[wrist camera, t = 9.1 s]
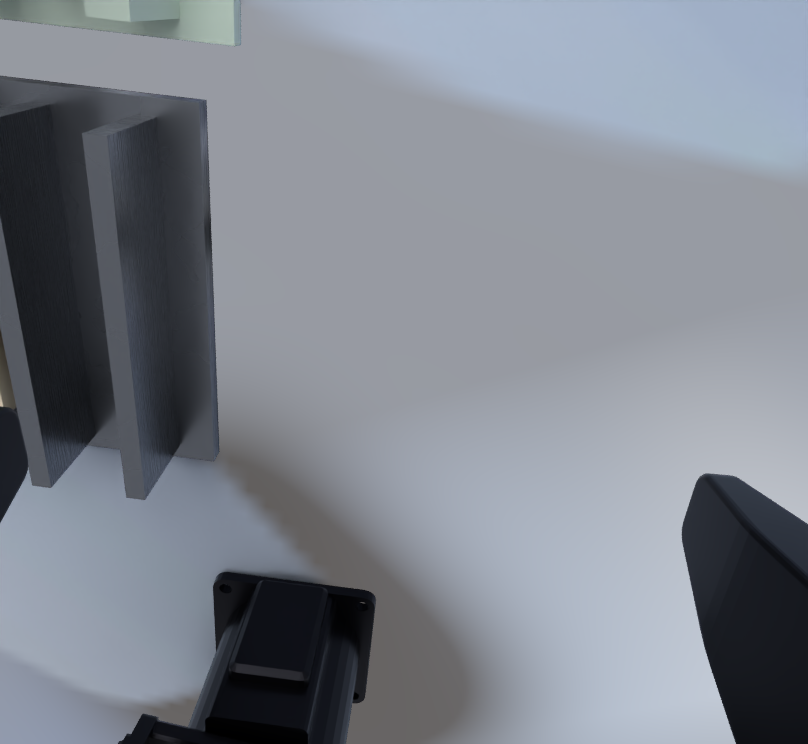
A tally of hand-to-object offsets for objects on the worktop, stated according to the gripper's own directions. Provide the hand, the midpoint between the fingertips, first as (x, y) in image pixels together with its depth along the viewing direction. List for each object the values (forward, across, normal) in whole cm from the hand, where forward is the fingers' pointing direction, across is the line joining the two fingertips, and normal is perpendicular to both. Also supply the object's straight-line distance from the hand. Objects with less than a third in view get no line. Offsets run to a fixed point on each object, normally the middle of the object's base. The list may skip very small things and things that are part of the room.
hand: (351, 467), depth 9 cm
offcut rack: (+13, +12, +3) cm, 18 cm away
